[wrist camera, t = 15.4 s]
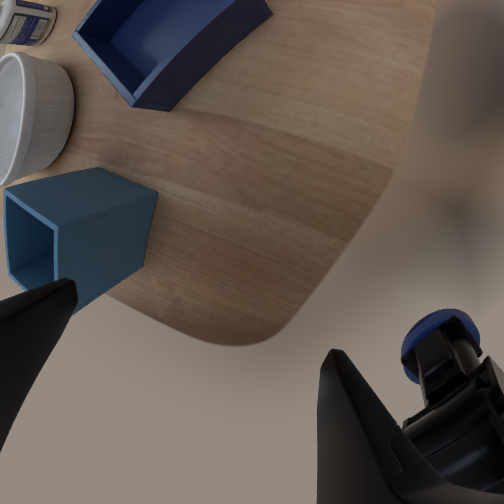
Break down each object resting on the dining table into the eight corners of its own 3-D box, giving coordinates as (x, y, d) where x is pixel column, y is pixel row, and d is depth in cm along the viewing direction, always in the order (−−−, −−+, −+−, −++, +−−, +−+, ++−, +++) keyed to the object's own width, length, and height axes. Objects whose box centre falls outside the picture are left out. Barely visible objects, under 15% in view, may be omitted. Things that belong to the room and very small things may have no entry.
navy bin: (273, 14, 15) (255, -16, 11) (168, 112, 19) (131, 107, 15) (188, -40, 14) (161, -64, 10) (106, 44, 18) (70, 35, 14)
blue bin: (158, 192, 22) (58, 226, 13) (142, 267, 25) (61, 323, 16) (98, 166, 23) (3, 188, 14) (88, 235, 25) (8, 274, 16)
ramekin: (23, 76, 22) (-21, 76, 15) (90, 40, 19) (34, 28, 12) (21, 178, 26) (-24, 190, 20) (84, 172, 23) (24, 186, 17)
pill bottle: (35, 20, 19) (-24, 14, 10) (60, -1, 17) (-3, -14, 8) (30, 53, 21) (-33, 51, 12) (55, 34, 19) (-15, 25, 10)
